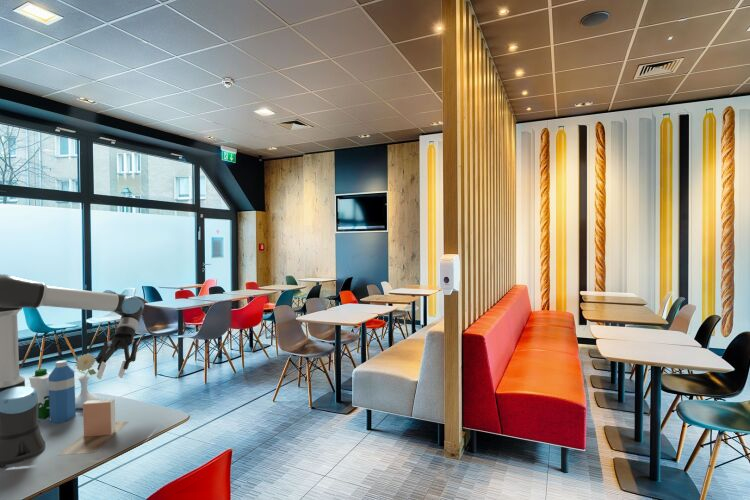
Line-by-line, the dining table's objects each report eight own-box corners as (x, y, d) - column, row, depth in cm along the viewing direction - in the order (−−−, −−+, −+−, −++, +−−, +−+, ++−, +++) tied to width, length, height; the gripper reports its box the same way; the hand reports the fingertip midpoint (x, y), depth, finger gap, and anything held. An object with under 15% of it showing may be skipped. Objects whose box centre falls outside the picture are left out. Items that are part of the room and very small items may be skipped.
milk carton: (47, 410, 184) (46, 366, 183) (64, 411, 182) (62, 367, 181) (27, 418, 175) (26, 373, 174) (44, 420, 173) (43, 374, 173)
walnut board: (58, 457, 143) (58, 455, 143) (98, 425, 168) (98, 423, 168) (94, 454, 144) (94, 452, 144) (128, 423, 169) (128, 421, 169)
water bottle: (80, 417, 176) (78, 360, 175) (54, 425, 168) (52, 366, 167) (71, 412, 181) (69, 357, 180) (45, 420, 173) (43, 362, 172)
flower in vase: (63, 409, 184) (61, 355, 184) (87, 399, 195) (86, 348, 194) (83, 412, 180) (82, 357, 180) (107, 403, 191) (106, 350, 190)
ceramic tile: (88, 433, 159) (87, 400, 159) (115, 431, 161) (114, 398, 160) (83, 437, 156) (82, 404, 156) (111, 434, 157) (110, 402, 157)
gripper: (153, 333, 186) (138, 379, 171) (105, 335, 183) (86, 382, 168) (148, 324, 181) (133, 371, 165) (98, 326, 178) (78, 374, 162)
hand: (109, 376), depth 166 cm, fingers open, 8 cm apart
